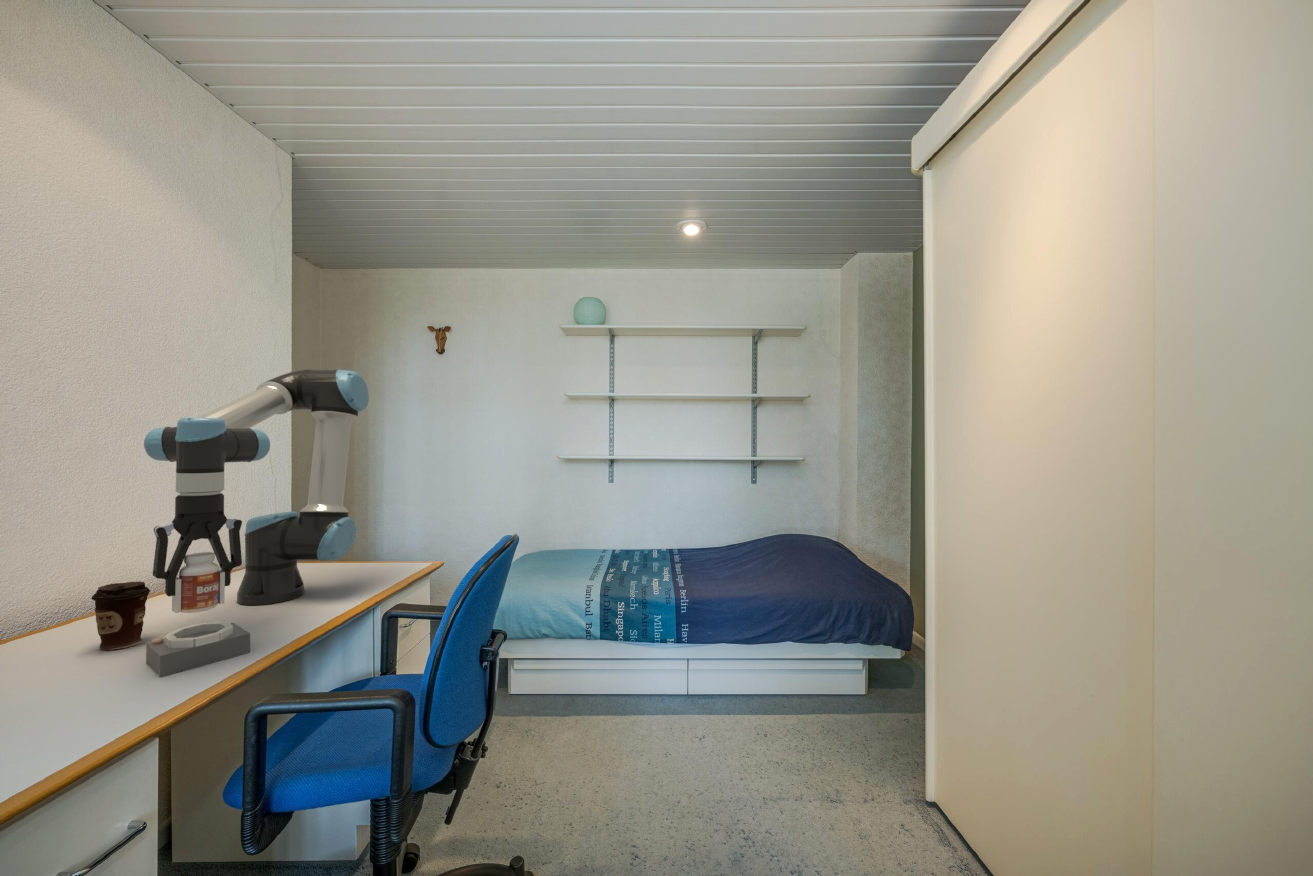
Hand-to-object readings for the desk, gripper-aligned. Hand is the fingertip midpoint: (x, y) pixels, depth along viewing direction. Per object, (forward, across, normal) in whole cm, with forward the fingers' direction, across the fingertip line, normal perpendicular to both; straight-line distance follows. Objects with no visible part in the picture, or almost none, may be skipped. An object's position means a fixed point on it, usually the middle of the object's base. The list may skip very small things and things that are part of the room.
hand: (198, 606), depth 107 cm
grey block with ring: (+11, 0, 0) cm, 11 cm away
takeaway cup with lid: (+11, +8, -21) cm, 25 cm away
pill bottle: (+1, 0, 0) cm, 1 cm away
